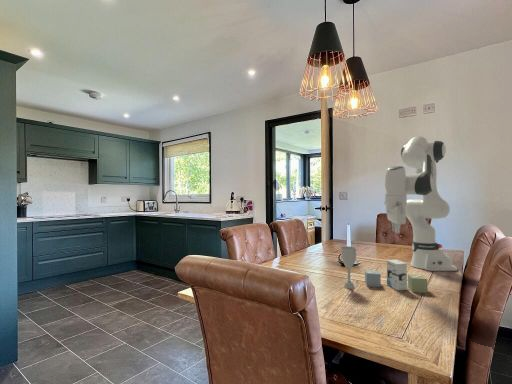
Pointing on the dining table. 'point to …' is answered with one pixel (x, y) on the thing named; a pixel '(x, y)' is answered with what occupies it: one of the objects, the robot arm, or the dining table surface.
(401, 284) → the ink box
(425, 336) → the dining table surface
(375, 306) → the dining table surface
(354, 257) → the chalice
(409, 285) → the olive block
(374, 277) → the slate block
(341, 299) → the dining table surface
